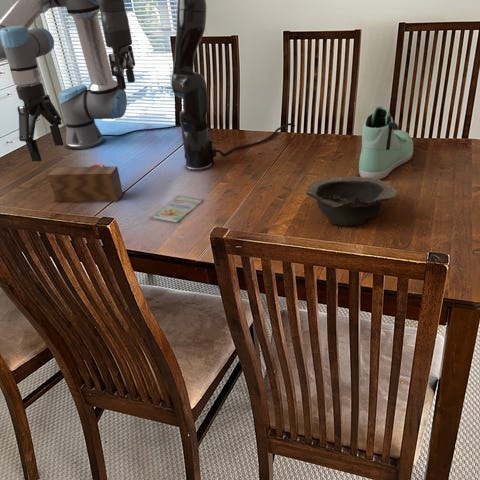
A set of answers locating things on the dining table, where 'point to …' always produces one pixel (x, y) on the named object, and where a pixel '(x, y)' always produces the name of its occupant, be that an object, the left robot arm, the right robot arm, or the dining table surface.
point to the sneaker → (383, 145)
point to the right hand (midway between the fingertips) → (127, 85)
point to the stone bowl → (350, 198)
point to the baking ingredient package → (176, 209)
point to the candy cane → (98, 165)
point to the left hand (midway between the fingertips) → (48, 152)
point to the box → (85, 184)
